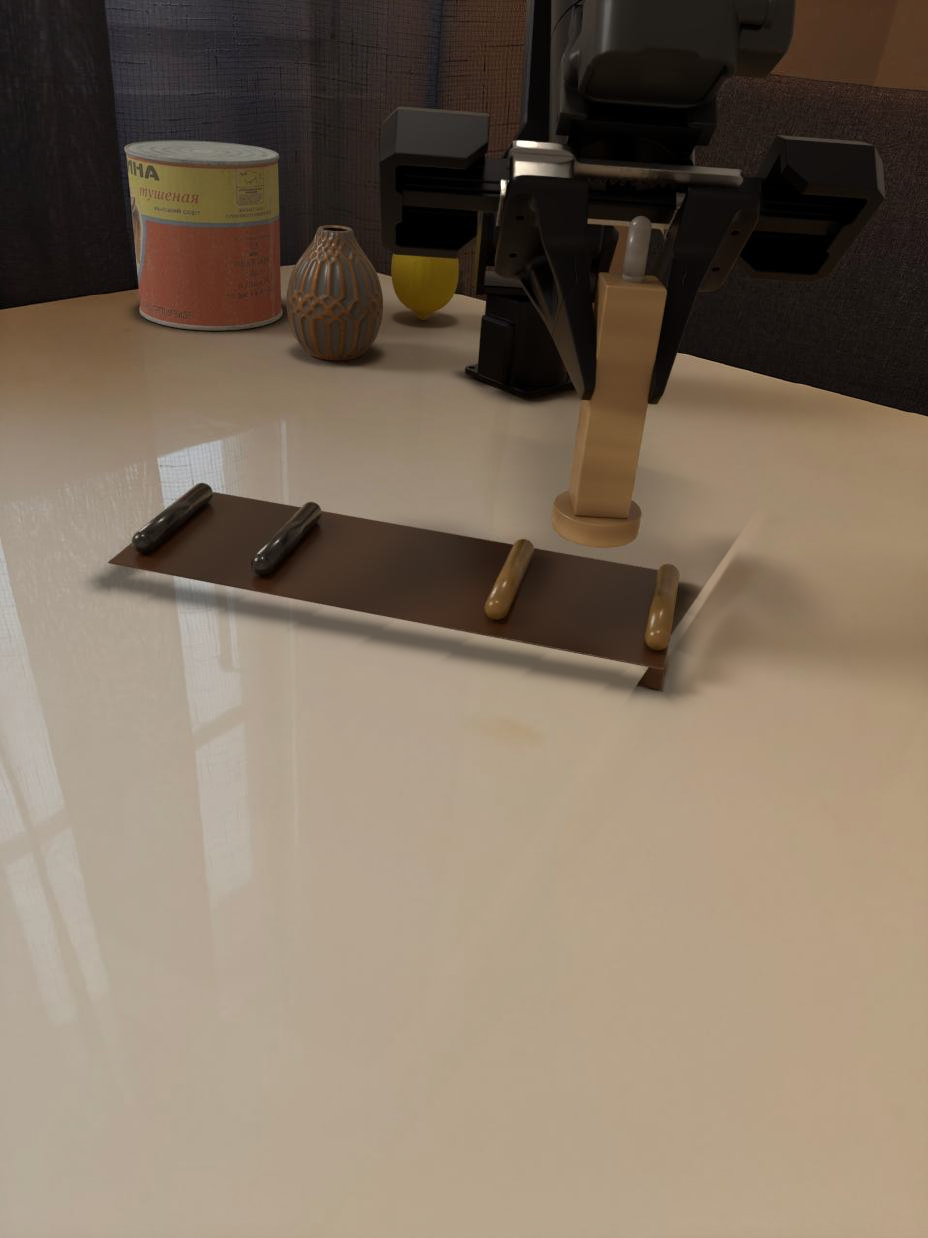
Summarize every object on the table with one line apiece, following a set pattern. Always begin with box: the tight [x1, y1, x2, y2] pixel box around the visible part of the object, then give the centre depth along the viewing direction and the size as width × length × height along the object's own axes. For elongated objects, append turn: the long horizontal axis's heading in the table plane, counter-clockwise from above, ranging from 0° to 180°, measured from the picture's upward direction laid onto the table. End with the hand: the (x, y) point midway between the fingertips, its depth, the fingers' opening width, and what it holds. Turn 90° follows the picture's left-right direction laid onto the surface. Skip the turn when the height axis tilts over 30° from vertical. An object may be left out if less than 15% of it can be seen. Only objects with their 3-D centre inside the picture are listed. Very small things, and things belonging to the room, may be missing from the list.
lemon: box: [390, 253, 460, 321], centre depth 83 cm, size 6×6×8 cm
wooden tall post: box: [550, 216, 667, 549], centre depth 39 cm, size 4×4×12 cm
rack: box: [107, 482, 680, 690], centre depth 45 cm, size 24×8×2 cm, turn 76°
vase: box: [286, 224, 384, 361], centre depth 73 cm, size 7×7×9 cm
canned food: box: [124, 139, 284, 332], centre depth 79 cm, size 11×11×12 cm
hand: (621, 397), depth 38 cm, fingers closed on wooden tall post, 2 cm apart
